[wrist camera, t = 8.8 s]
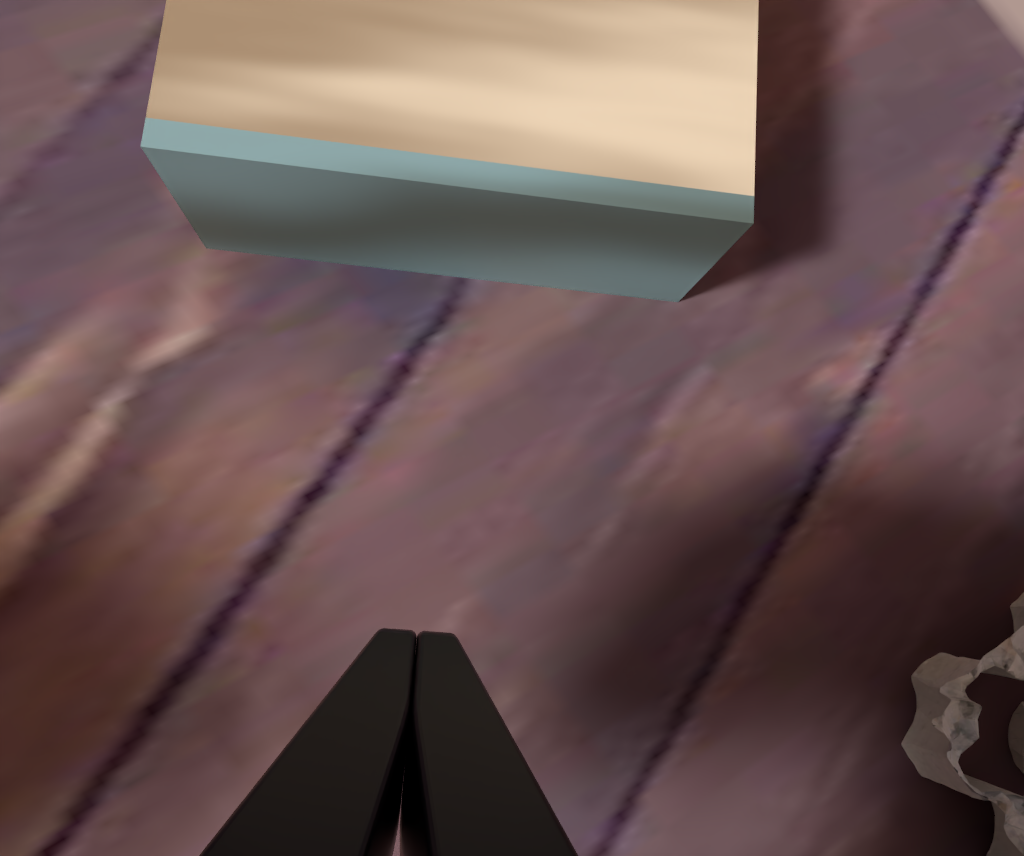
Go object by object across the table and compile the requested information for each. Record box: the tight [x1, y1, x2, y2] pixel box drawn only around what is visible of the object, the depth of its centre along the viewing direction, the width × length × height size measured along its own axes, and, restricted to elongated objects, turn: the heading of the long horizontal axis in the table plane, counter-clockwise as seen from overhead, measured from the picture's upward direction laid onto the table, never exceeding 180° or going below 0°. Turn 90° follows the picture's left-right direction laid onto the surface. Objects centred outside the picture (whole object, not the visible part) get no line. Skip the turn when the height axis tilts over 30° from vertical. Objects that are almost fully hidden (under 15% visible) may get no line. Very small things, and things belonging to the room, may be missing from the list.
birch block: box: [141, 0, 759, 302], centre depth 19 cm, size 5×12×12 cm
